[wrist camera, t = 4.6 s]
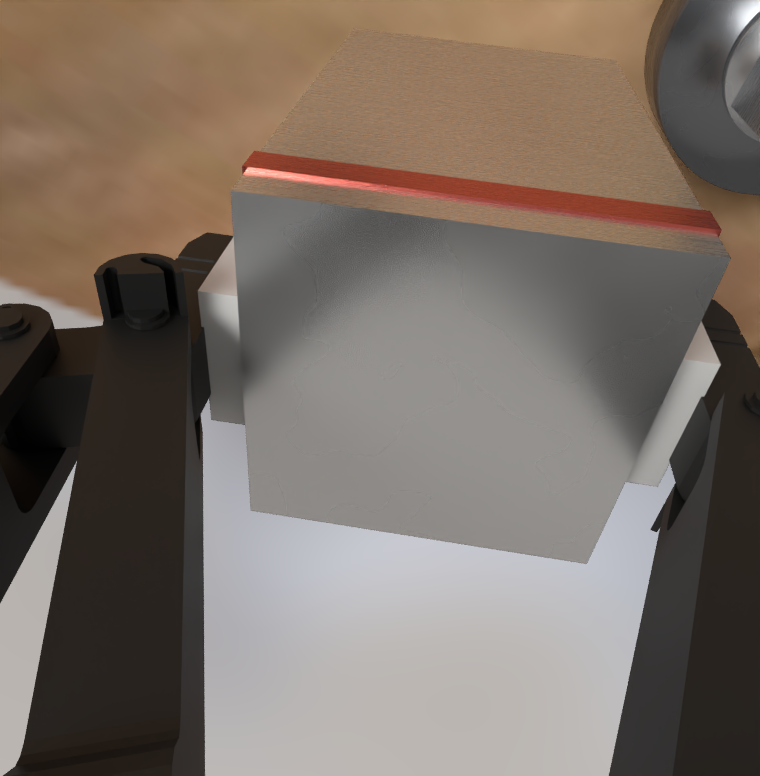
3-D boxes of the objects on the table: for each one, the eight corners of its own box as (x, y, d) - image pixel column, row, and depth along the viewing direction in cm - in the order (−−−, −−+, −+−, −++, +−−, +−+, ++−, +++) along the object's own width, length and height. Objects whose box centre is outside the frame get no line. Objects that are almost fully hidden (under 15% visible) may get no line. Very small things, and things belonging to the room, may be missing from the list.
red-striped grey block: (340, 261, 20) (248, 511, 13) (352, 25, 16) (226, 186, 9) (551, 290, 20) (589, 566, 12) (618, 58, 16) (736, 254, 8)
